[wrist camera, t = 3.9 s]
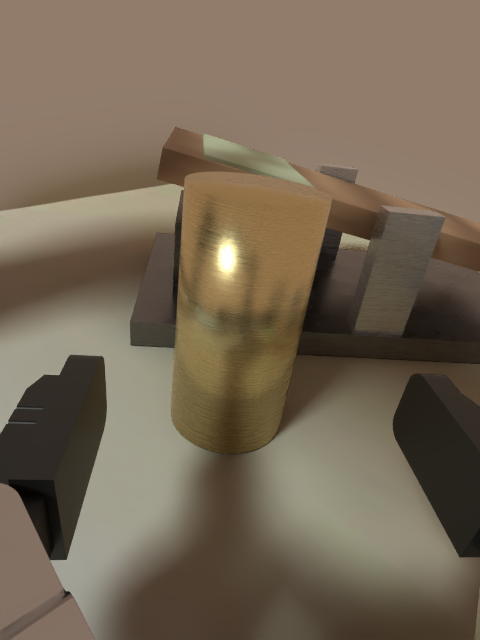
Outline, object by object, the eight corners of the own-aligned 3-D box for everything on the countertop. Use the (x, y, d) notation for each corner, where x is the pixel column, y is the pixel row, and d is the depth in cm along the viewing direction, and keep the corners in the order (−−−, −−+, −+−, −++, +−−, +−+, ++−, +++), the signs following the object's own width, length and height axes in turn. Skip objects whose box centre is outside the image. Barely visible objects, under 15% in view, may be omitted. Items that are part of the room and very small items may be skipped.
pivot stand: (130, 345, 22) (127, 185, 18) (156, 249, 35) (158, 144, 31) (580, 368, 26) (664, 241, 22) (453, 274, 39) (491, 183, 35)
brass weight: (167, 452, 16) (182, 194, 11) (173, 375, 20) (186, 166, 16) (290, 454, 17) (353, 214, 12) (270, 379, 21) (311, 181, 16)
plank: (156, 179, 20) (163, 142, 19) (171, 148, 29) (176, 123, 29) (569, 297, 25) (588, 273, 25) (469, 239, 35) (480, 221, 34)
